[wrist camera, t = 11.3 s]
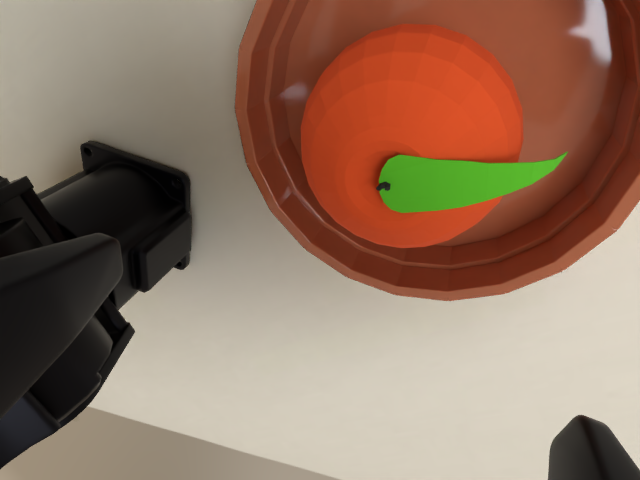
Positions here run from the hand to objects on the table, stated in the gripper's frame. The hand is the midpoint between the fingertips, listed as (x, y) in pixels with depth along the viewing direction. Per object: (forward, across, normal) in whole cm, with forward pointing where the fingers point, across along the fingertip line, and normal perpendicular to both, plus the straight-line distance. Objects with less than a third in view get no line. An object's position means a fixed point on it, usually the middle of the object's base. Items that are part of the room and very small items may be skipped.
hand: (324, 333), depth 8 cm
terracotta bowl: (+12, 0, -1) cm, 12 cm away
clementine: (+12, 0, -1) cm, 12 cm away
